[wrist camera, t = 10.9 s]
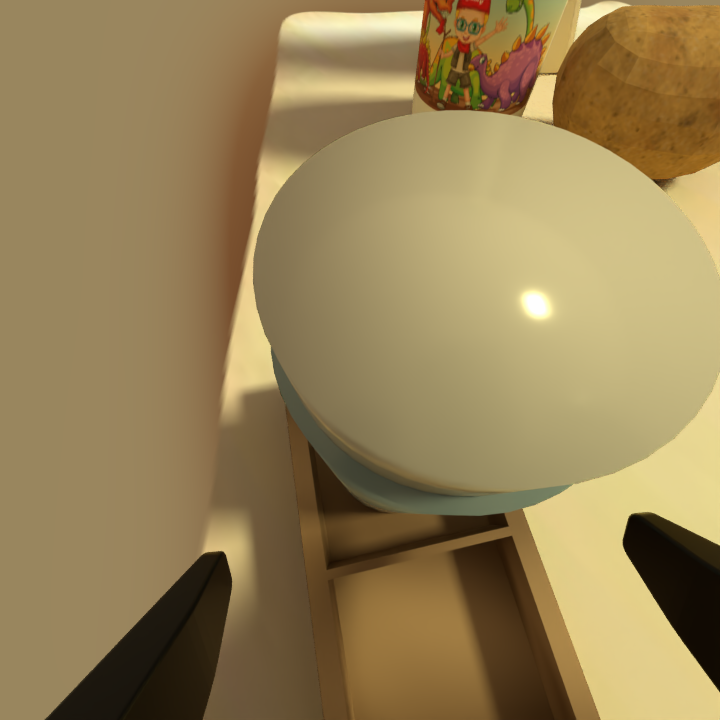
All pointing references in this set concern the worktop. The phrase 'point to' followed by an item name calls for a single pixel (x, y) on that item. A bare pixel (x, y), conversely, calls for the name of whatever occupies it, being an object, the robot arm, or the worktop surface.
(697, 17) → the potato
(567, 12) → the skyscraper
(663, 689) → the worktop surface
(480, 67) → the milk bottle
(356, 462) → the salt shaker
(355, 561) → the caddy
